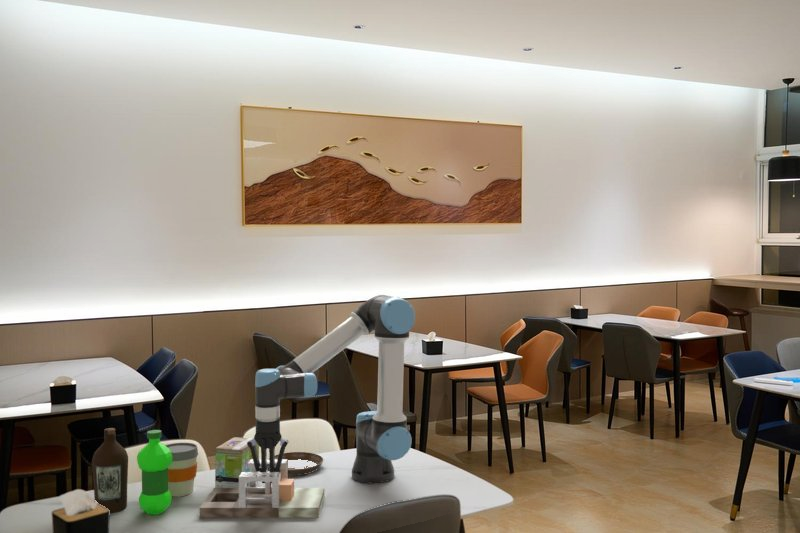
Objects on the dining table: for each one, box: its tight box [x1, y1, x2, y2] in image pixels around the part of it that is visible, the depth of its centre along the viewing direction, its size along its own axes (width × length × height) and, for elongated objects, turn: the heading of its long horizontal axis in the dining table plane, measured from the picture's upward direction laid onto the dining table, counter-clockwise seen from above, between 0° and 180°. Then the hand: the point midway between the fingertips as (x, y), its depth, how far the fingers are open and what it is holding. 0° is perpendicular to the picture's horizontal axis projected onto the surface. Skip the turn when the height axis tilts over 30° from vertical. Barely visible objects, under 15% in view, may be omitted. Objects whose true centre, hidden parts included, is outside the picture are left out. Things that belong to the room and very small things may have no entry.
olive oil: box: [91, 427, 129, 514], centre depth 237 cm, size 11×11×25 cm
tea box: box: [214, 436, 260, 488], centre depth 259 cm, size 15×10×15 cm, turn 168°
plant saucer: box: [275, 451, 324, 476], centre depth 278 cm, size 21×21×3 cm
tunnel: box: [239, 458, 289, 508], centre depth 238 cm, size 12×18×10 cm, turn 0°
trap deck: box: [199, 487, 325, 519], centre depth 238 cm, size 36×18×3 cm, turn 90°
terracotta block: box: [280, 478, 295, 501], centre depth 238 cm, size 6×6×5 cm
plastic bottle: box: [136, 429, 173, 516], centre depth 234 cm, size 10×10×25 cm
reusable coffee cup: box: [164, 442, 199, 497], centre depth 252 cm, size 13×12×15 cm
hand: (268, 493), depth 238 cm, fingers closed
